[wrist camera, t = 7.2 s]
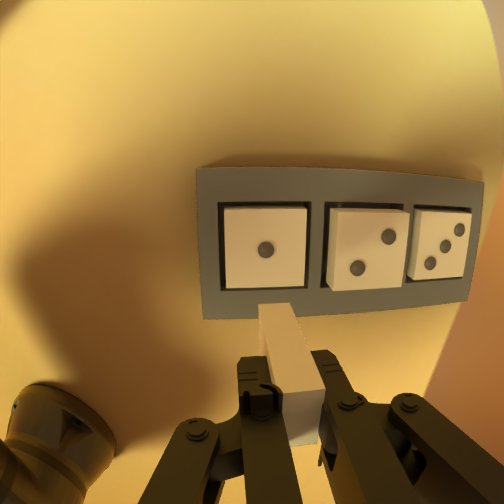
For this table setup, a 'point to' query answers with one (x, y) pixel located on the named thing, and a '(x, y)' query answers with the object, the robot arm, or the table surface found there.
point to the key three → (438, 243)
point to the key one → (265, 245)
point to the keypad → (325, 235)
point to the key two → (366, 248)
